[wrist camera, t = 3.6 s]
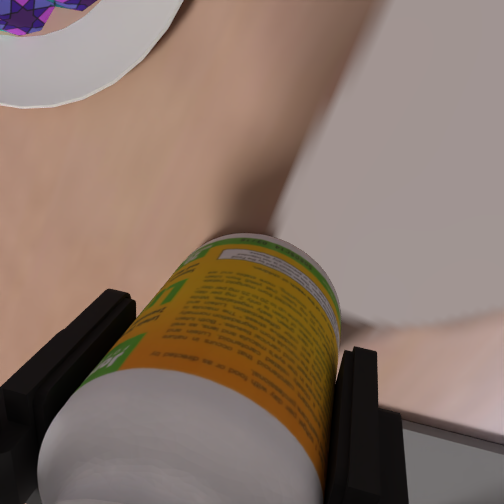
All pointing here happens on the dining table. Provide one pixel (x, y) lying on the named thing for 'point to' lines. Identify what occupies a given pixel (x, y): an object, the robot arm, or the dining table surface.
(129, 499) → the supplement bottle
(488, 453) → the placemat
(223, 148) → the dining table surface
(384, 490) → the robot arm
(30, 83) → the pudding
